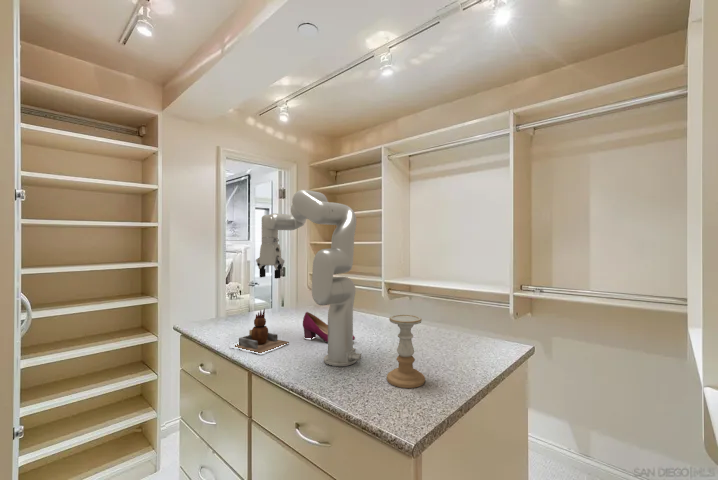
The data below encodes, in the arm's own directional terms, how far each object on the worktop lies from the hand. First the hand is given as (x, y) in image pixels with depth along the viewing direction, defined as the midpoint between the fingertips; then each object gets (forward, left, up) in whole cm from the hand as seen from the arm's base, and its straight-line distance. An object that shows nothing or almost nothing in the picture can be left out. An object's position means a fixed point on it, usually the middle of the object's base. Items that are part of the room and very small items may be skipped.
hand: (269, 277), depth 152 cm
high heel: (-26, -10, -29) cm, 40 cm away
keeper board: (-5, +11, -28) cm, 31 cm away
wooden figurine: (-5, +11, -27) cm, 30 cm away
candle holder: (-73, +12, -28) cm, 79 cm away
